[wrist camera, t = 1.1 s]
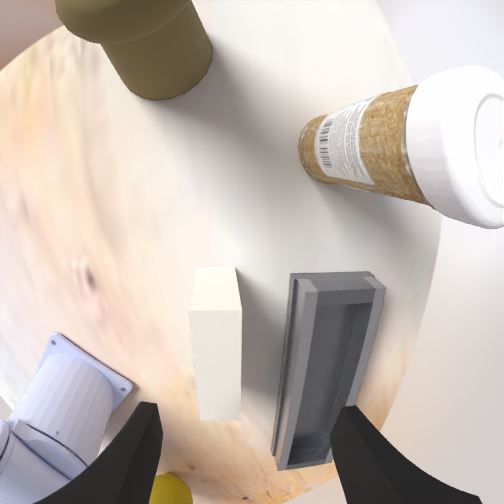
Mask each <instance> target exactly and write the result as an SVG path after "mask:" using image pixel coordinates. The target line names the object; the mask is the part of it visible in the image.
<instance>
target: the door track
mask: <svg viewBox="0 0 504 504" xmlns="http://www.w3.org/2000/svg"><path fill="white" fill-rule="evenodd" d="M385 290H386V287H385V286H383V285H382V284H381V283H380V282H379V281H377V280H376V279H375V276H374V275H372V274H371V273H370V272H369V271H366V272H334V273H292V274H290V285H289V297H288V308H287V319H286V329H285V339H284V349H283V358H282V368H281V376H280V385H279V393H278V401H277V409H276V417H275V425H274V432H273V439H272V446H271V452H272V456H275V461H276V466H277V470H278V471H282V470H290V469H297V468H303V467H309V466H315V465H321V464H326V463H331V462H332V460H333V455H332V449H331V443H330V437H329V435H330V433H331V431H332V429H333V426H334V424H335V422H336V420H337V417H338V415H339V413H340V410H341V408H342V407H345V406H354V404H355V401H356V398H357V395H358V392H359V389H360V386H361V383H362V379H363V376H364V373H365V370H366V366H367V363H368V360H369V356H370V353H371V349H372V345H373V342H374V338H375V334H376V330H377V326H378V322H379V318H380V313H381V309H382V304H383V300H384V295H385Z"/></svg>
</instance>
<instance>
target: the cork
mask: <svg viewBox="0 0 504 504" xmlns="http://www.w3.org/2000/svg"><path fill="white" fill-rule="evenodd" d="M55 3H56V12H57V14H58V16H59V19H60V20H61V21H62V23H63V24H64V25H65V27H66V28H67V29H68V30H69V31H70V32H71V33H73V34H74V35H76V36H78V37H80V38H82V39H85V40H87V41H89V42H93V43H99V44H101V46H102V47H103V49H104V51H105V53H106V54H107V56H108V58H109V59H110V61H111V63H112V64H113V66H114V68H115V69H116V71H117V73H118V75H119V76H120V78H121V80H122V81H123V83H124V84H125V85H126V86H127V88H128V89H129V90H130V91H131V92H133V93H135V94H136V95H138V96H140V97H141V98H147V99H152V100H163V99H171V98H174V97H176V96H179V95H181V94H184V93H186V92H187V91H189V90H190V89H191V88H193V87H194V86H196V85H197V84H198V83H199V82H200V80H201V79H202V78H203V77H204V75H205V74H206V73H207V71H208V68H209V65H210V63H211V60H212V46H211V44H210V41H209V39H208V36H207V34H206V32H205V29H204V27H203V25H202V23H201V20H200V18H199V16H198V14H197V12H196V10H195V7H194V5H193V3H192V1H191V0H55Z"/></svg>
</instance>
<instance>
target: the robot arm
mask: <svg viewBox="0 0 504 504" xmlns="http://www.w3.org/2000/svg"><path fill="white" fill-rule="evenodd" d="M54 341H55V342H56V343H55V342H54ZM132 387H133V384H132V383H131V382H130V381H128V380H127V379H125V378H123V377H122V376H120V375H118V374H117V373H115V372H114V371H112V370H110V369H109V368H107V367H106V366H104V365H103V364H101V363H100V362H98V361H97V360H95V359H94V358H92V357H91V356H89V355H88V354H86V353H85V352H84V351H82V350H81V349H79V348H78V347H77V346H75V345H74V344H72V343H71V342H70V341H68V340H67V339H66V338H64V337H63V336H62V335H60V334H59V333H58V332H53V333H52V335H51V336H50V339H49V341H48V344H47V346H46V348H45V351H44V353H43V356H42V358H41V361H40V364H39V366H38V369H37V372H36V374H35V377H34V378H33V380H32V381H31V383H30V384H29V386H28V387H27V389H26V390H25V392H24V394H23V395H22V397H21V398H20V400H19V402H18V403H17V405H16V406H15V408H14V410H13V411H12V413H11V415H10V416H9V418H8V420H7V422H5V421H4V420H3V419H2V418H0V504H149V501H150V496H151V491H152V487H153V483H154V479H155V475H156V471H157V467H158V463H159V459H160V454H161V447H162V438H163V431H162V426H161V421H160V417H159V412H158V407H157V404H156V403H149V402H140V403H139V404H138V406H137V408H136V409H135V411H134V412H133V414H132V415H131V417H130V418H129V419H128V421H127V422H126V424H125V425H124V426H123V428H122V429H121V430H120V432H119V433H118V434H117V435H116V437H115V438H114V439H113V440H112V442H111V443H110V444H109V445H108V446H107V447H106V448H105V450H104V451H103V452H102V453H101V454H100V455H99V456H98V453H99V449H100V446H101V443H102V439H103V436H104V433H105V430H106V426H107V423H108V420H109V417H110V415H111V414H112V413H113V412H114V411H115V409H116V408H117V407H118V406H119V404H120V403H121V402H122V401H123V400H124V398H125V397H126V396H127V395H128V394H129V392H130V391H131V390H132ZM123 388H125V389H123ZM329 437H330V443H331V449H332V455H333V459H334V462H335V465H336V468H337V472H338V475H339V478H340V481H341V484H342V487H343V491H344V494H345V497H346V501H347V504H482V502H481V500H480V498H479V497H478V496H476V495H472V494H470V493H466V492H464V491H461V490H458V489H456V488H454V487H451V486H449V485H447V484H445V483H443V482H441V481H439V480H438V479H436V478H434V477H432V476H431V475H429V474H427V473H426V472H424V471H423V470H421V469H420V468H419V467H417V466H416V465H415V464H413V463H412V462H411V461H409V460H408V459H407V458H406V457H404V456H403V455H402V454H401V453H400V452H399V451H398V450H397V449H396V448H395V447H393V445H392V444H391V443H390V442H389V441H387V439H386V438H385V437H384V436H383V435H382V434H381V433H380V432H379V431H378V430H377V429H376V428H375V427H374V425H373V424H372V423H371V422H370V421H369V420H368V419H367V418H366V416H365V415H364V414H363V413H362V412H361V411H360V410H359V408H358V407H357V406H356V405H354V406H345V407H342V408H341V410H340V413H339V415H338V417H337V420H336V422H335V424H334V426H333V429H332V431H331V433H330V435H329ZM97 456H98V457H97Z"/></svg>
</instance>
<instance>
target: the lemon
mask: <svg viewBox="0 0 504 504" xmlns="http://www.w3.org/2000/svg"><path fill="white" fill-rule="evenodd" d="M149 504H193V500H192V495H191V491H190V489H189V487H188V486H187V485H186V483H185V482H184V481H182V480H181V479H179V478H178V477H175V476H174V475H172V474H171V473H166V474H163V475H158V476H155V479H154V483H153V487H152V491H151V496H150V501H149Z"/></svg>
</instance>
